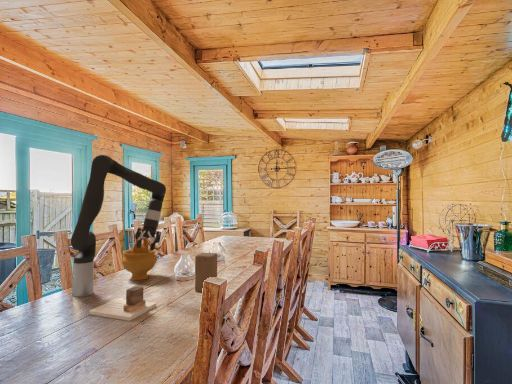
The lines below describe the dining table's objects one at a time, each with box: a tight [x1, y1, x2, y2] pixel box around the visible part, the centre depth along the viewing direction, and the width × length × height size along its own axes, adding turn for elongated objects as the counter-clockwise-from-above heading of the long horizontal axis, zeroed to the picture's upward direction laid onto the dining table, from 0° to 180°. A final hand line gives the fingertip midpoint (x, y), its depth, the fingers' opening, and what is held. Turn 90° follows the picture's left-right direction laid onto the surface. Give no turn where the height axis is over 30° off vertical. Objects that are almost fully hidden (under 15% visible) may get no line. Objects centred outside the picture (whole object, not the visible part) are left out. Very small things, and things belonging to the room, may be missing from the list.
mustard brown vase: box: [121, 231, 158, 281], centre depth 196 cm, size 21×21×30 cm
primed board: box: [88, 297, 157, 322], centre depth 141 cm, size 22×18×2 cm
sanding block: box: [124, 285, 147, 312], centre depth 139 cm, size 5×9×9 cm, turn 162°
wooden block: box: [194, 252, 218, 293], centre depth 171 cm, size 10×10×20 cm
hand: (144, 249), depth 162 cm, fingers open, 8 cm apart
